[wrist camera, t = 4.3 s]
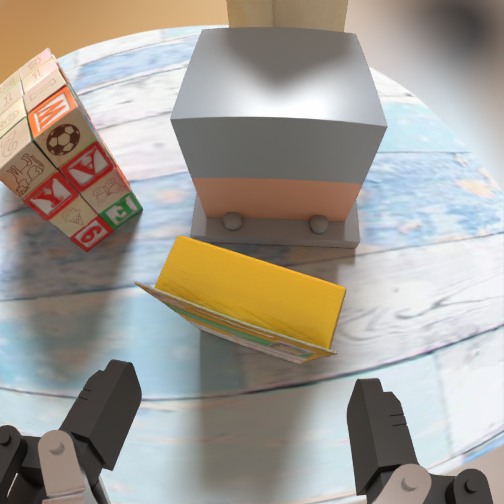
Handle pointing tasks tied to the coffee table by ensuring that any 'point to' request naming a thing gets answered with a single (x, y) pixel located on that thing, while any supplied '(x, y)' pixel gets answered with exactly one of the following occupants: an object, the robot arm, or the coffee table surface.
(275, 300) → the crayon box
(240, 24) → the tall beige wooden block
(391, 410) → the robot arm
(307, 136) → the two-tone cube on base
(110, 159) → the stack of blocks
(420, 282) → the coffee table surface
